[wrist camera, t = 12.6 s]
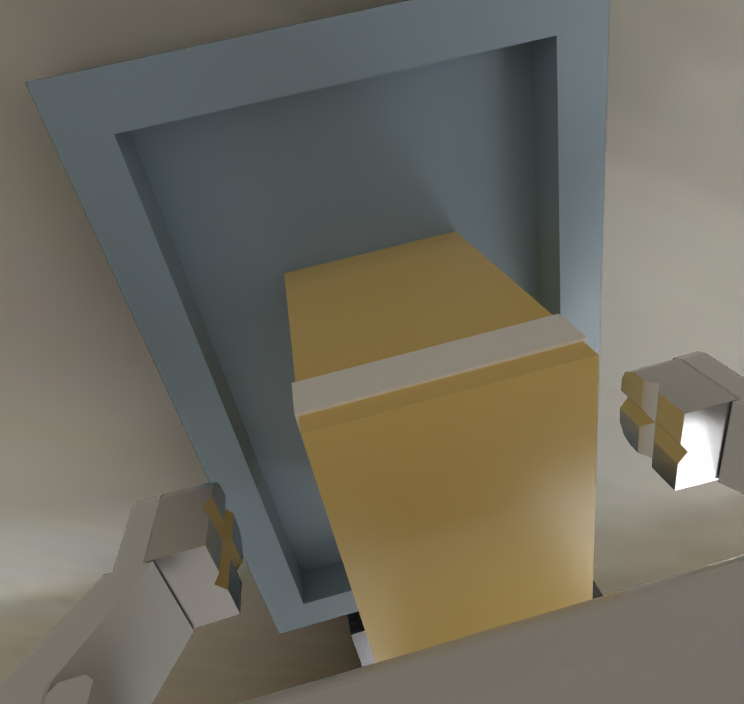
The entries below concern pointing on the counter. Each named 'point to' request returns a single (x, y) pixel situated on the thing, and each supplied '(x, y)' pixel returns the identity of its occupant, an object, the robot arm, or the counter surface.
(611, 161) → the counter surface
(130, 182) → the tray
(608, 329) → the counter surface
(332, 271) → the fuse block
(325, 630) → the counter surface
